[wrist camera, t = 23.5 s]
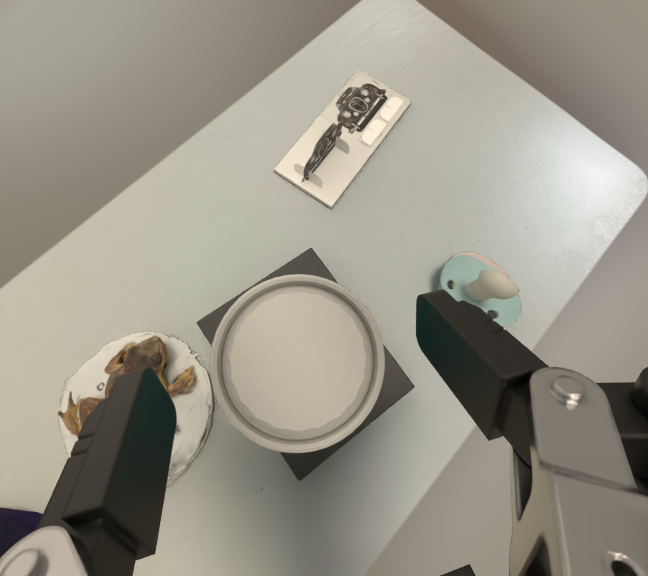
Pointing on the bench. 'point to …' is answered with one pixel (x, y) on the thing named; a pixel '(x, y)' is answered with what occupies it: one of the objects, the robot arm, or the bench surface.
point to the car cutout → (343, 138)
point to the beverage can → (297, 363)
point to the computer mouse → (16, 527)
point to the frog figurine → (173, 371)
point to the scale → (394, 376)
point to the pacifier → (482, 286)
